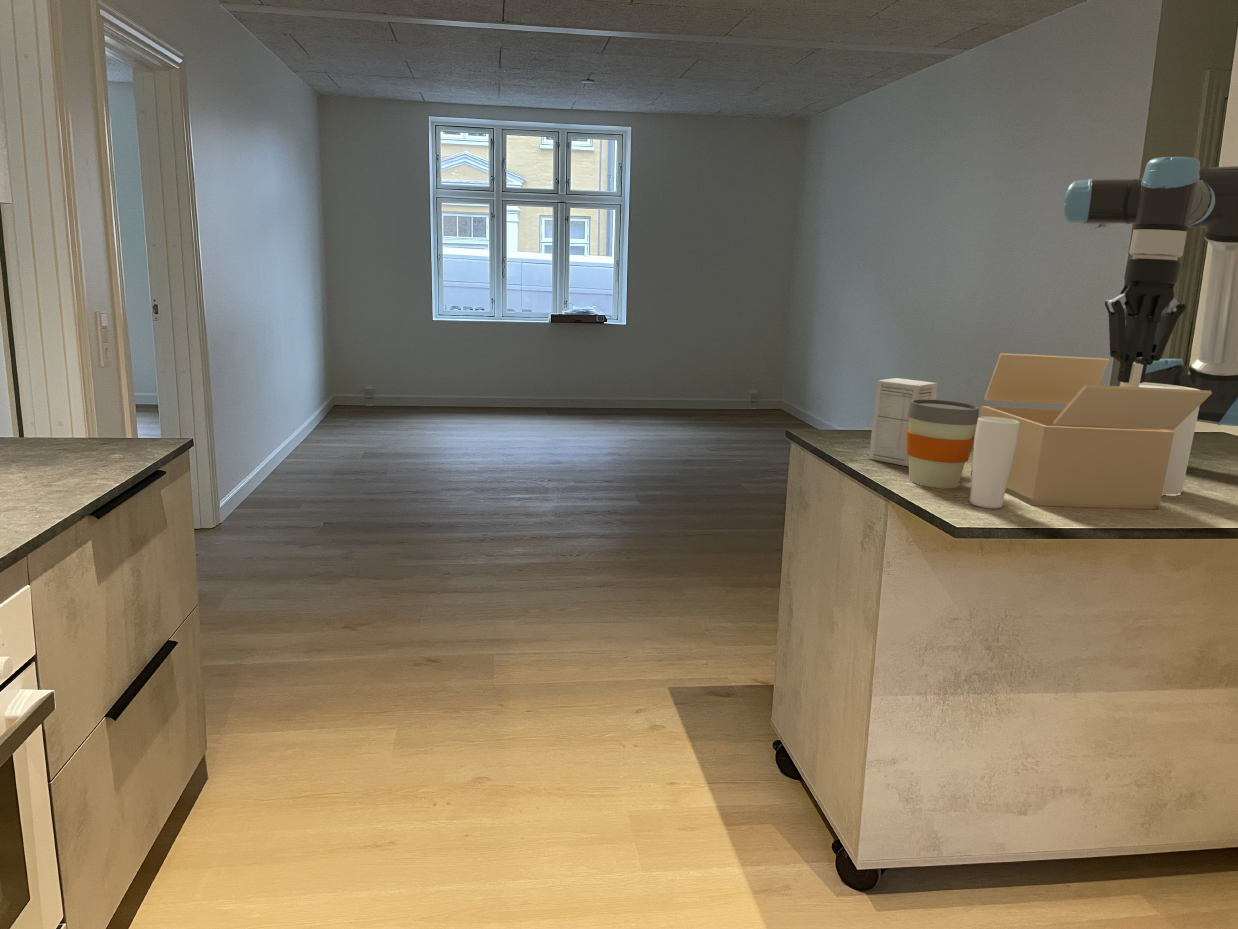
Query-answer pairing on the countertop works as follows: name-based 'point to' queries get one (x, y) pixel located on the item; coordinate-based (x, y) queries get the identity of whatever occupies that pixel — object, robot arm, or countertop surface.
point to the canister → (1178, 446)
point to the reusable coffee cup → (939, 441)
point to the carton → (1084, 462)
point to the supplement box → (895, 417)
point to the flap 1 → (1042, 378)
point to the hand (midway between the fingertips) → (1126, 401)
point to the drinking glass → (992, 460)
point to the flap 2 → (1131, 407)
